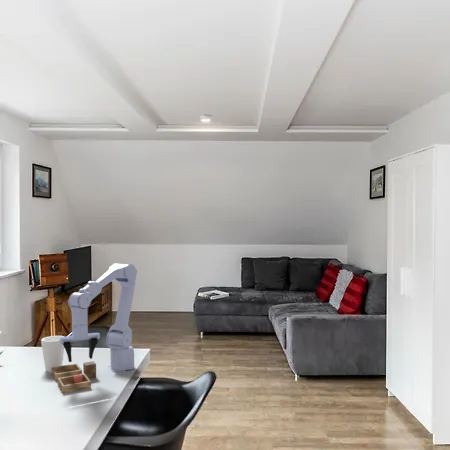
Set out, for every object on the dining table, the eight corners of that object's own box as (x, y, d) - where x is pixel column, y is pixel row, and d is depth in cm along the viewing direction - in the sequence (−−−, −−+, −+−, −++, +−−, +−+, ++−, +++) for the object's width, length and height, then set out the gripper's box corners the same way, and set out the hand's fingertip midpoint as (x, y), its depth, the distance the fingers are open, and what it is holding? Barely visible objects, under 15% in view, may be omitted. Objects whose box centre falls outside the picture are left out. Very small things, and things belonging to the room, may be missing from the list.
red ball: (82, 381, 173) (82, 372, 173) (84, 384, 170) (84, 375, 170) (72, 383, 171) (72, 374, 171) (74, 386, 168) (74, 376, 168)
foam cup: (57, 373, 184) (56, 341, 184) (36, 372, 186) (36, 340, 186) (69, 366, 193) (69, 336, 193) (50, 365, 195) (50, 335, 195)
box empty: (76, 370, 187) (76, 363, 187) (82, 377, 179) (81, 370, 179) (51, 374, 183) (51, 367, 183) (55, 382, 174) (55, 374, 174)
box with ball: (84, 381, 174) (84, 373, 174) (90, 389, 166) (90, 381, 166) (57, 386, 169) (57, 378, 169) (62, 394, 161) (62, 386, 161)
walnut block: (93, 376, 181) (93, 361, 181) (96, 379, 177) (96, 363, 177) (83, 377, 179) (83, 362, 179) (85, 380, 175) (85, 365, 175)
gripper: (96, 319, 179) (97, 354, 179) (57, 324, 171) (58, 360, 171) (101, 323, 172) (101, 358, 173) (61, 328, 165) (62, 365, 165)
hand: (80, 359), depth 172 cm, fingers open, 7 cm apart
